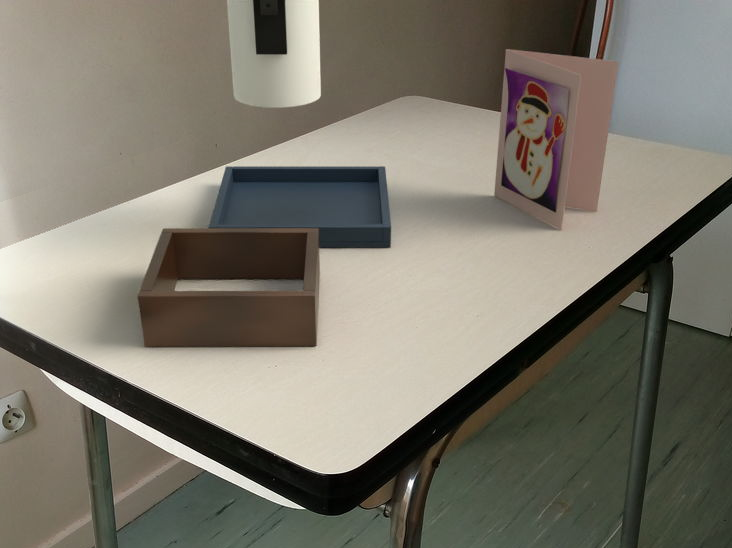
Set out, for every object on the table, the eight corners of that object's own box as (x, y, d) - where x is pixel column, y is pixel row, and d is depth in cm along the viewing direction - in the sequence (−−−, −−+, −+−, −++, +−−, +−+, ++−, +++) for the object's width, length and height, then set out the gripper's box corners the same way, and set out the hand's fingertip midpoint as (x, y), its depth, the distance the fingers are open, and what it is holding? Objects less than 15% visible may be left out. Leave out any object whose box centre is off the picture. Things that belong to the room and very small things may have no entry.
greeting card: (487, 196, 110) (499, 50, 101) (541, 184, 113) (556, 41, 104) (554, 231, 102) (573, 76, 93) (610, 217, 105) (633, 66, 96)
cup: (268, 113, 91) (257, -92, 81) (216, 93, 96) (200, -102, 86) (338, 97, 95) (336, -99, 85) (285, 79, 100) (277, -108, 90)
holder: (144, 347, 82) (137, 296, 79) (168, 274, 93) (162, 227, 90) (316, 346, 82) (315, 295, 79) (319, 274, 93) (318, 227, 91)
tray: (210, 247, 98) (208, 227, 97) (227, 185, 112) (225, 166, 111) (390, 247, 98) (391, 227, 97) (384, 185, 113) (385, 166, 111)
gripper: (303, -271, 70) (312, 71, 84) (311, -268, 87) (317, 17, 101) (195, -272, 70) (222, 71, 84) (224, -269, 87) (242, 16, 101)
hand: (274, 41), depth 92 cm, fingers closed on cup, 8 cm apart
